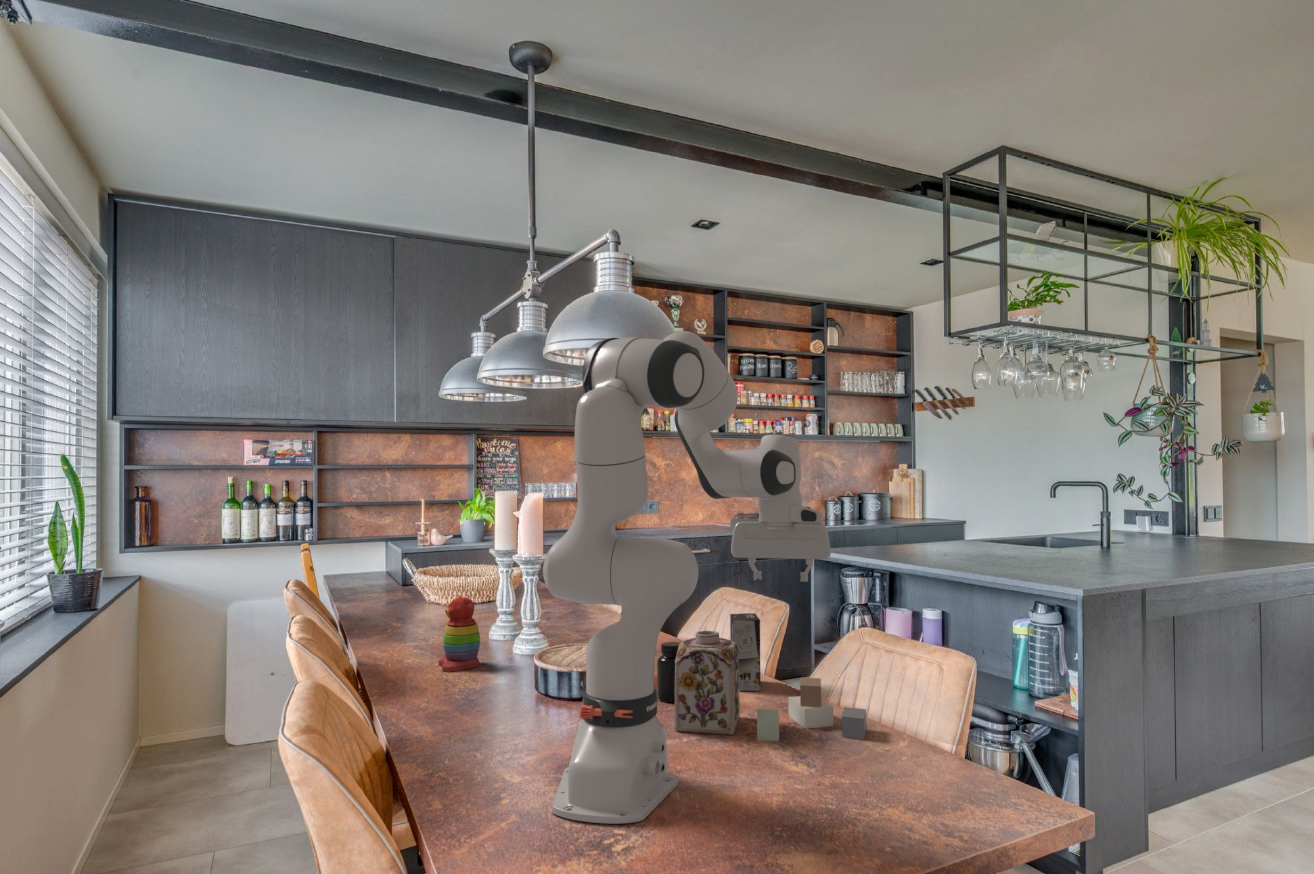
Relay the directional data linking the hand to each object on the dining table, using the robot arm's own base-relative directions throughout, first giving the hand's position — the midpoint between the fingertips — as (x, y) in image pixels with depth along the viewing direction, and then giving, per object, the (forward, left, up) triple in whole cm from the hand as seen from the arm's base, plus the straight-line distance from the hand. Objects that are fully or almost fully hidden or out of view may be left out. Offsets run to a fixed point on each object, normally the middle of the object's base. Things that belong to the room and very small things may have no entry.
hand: (780, 580), depth 153 cm
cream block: (-1, -6, -28) cm, 28 cm away
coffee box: (+21, +9, -28) cm, 36 cm away
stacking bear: (+26, +84, -28) cm, 92 cm away
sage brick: (-11, +2, -28) cm, 30 cm away
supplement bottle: (+8, +24, -28) cm, 38 cm away
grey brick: (-7, -14, -28) cm, 32 cm away
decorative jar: (-7, +14, -28) cm, 32 cm away
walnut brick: (-1, -6, -24) cm, 24 cm away
